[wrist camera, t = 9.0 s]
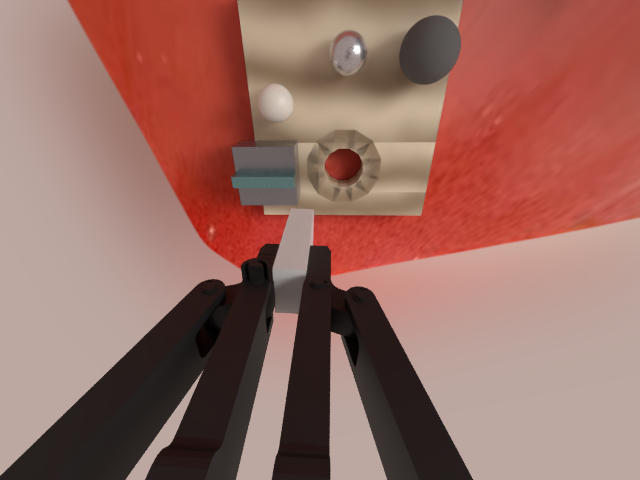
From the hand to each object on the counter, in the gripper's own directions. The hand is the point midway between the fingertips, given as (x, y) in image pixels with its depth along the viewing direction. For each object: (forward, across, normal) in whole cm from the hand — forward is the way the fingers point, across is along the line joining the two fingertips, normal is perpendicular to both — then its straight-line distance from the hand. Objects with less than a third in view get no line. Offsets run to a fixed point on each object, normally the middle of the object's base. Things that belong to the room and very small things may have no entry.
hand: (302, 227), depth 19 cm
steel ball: (+14, +3, +11) cm, 18 cm away
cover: (+15, -5, -1) cm, 16 cm away
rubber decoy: (+13, +10, +11) cm, 20 cm away
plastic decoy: (+14, -4, +6) cm, 16 cm away
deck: (+18, +3, +5) cm, 19 cm away
